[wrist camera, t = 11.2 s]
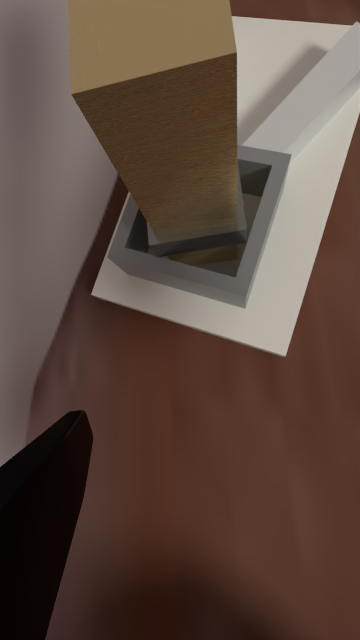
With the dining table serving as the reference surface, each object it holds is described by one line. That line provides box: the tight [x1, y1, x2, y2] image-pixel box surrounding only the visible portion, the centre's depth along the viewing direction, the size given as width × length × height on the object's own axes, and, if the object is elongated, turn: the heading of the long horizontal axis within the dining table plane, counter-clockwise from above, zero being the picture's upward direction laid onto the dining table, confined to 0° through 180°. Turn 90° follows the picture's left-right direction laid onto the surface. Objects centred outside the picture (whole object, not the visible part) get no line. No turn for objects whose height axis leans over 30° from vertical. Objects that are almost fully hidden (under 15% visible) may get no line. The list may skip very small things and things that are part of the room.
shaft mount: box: [91, 2, 360, 357], centre depth 20 cm, size 13×22×4 cm, turn 161°
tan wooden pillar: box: [68, 0, 247, 266], centre depth 14 cm, size 5×5×13 cm
